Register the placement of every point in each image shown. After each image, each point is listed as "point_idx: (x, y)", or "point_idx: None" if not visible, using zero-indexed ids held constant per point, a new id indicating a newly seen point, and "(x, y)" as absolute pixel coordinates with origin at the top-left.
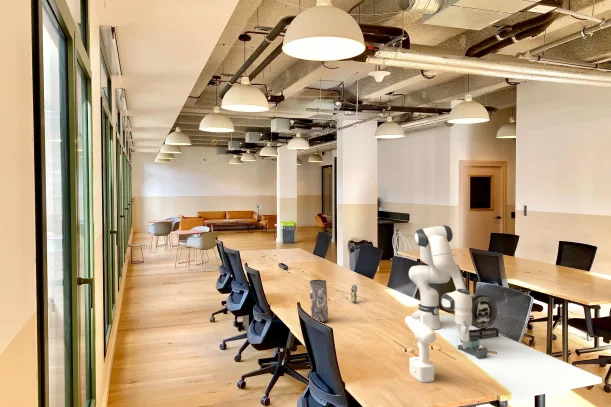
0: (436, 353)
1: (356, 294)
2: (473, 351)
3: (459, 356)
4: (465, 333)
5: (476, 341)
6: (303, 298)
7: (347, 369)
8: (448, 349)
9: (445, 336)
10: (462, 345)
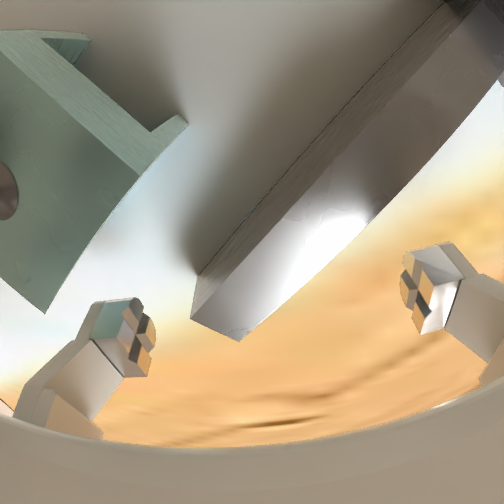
0: (398, 388)
1: None
2: (468, 109)
3: (471, 257)
4: (12, 422)
5: (27, 66)
6: None
7: None
8: (285, 361)
9: (5, 364)
10: (220, 292)
